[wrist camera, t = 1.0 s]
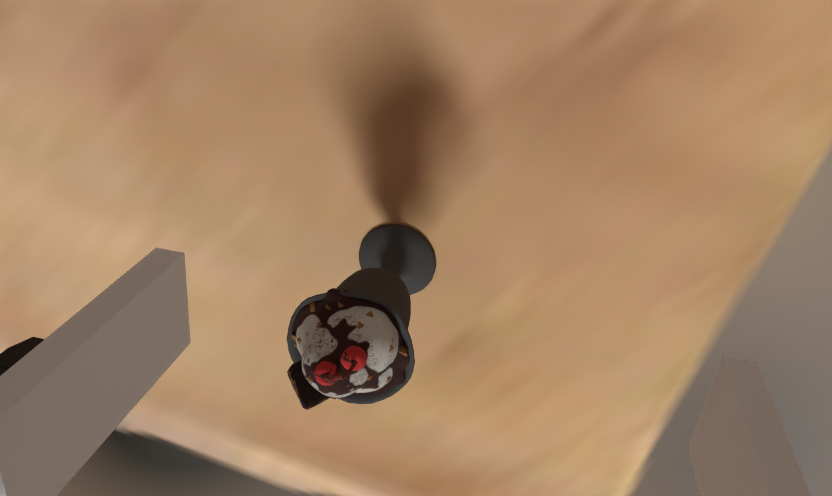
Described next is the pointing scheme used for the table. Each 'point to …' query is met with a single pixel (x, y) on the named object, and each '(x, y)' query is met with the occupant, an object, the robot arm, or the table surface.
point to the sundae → (361, 324)
